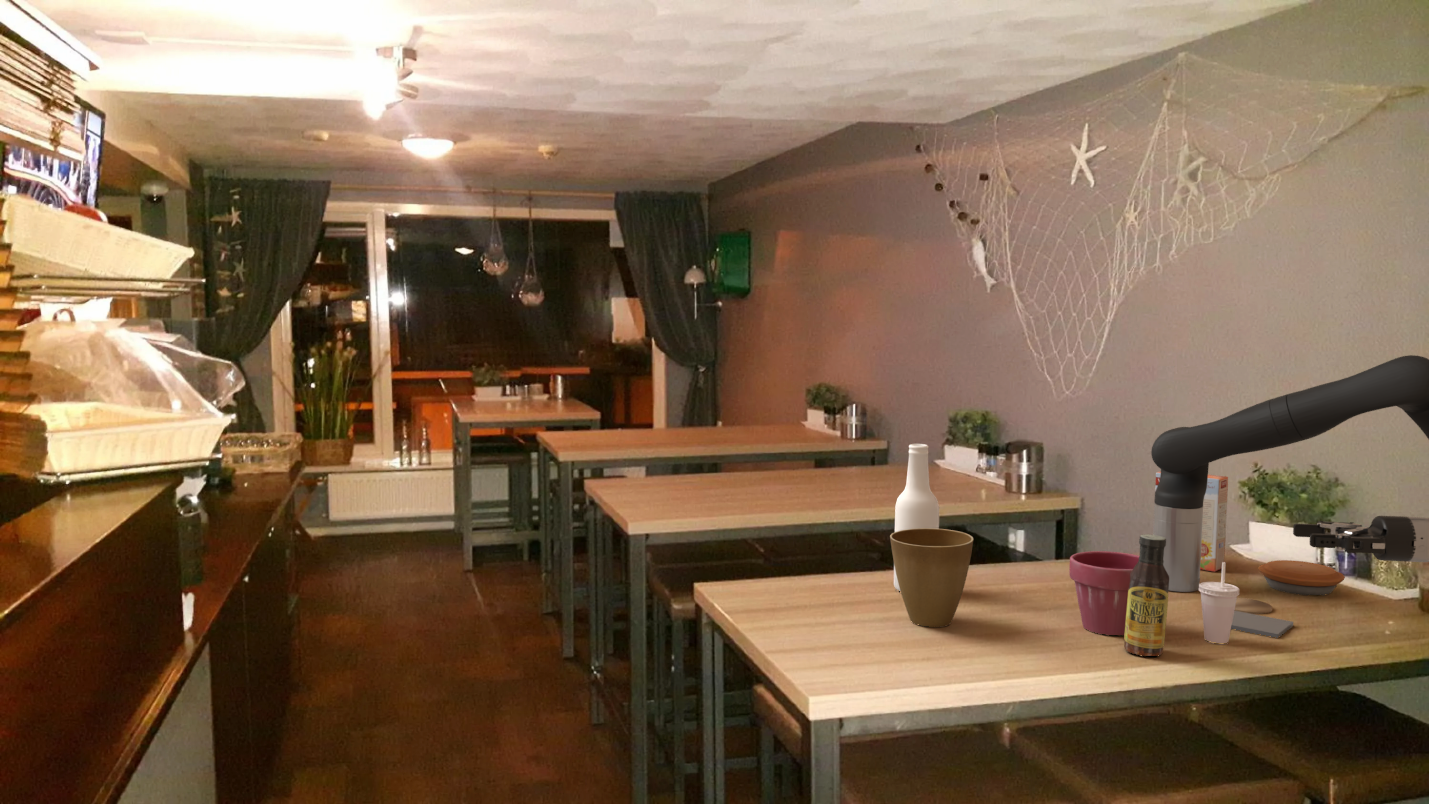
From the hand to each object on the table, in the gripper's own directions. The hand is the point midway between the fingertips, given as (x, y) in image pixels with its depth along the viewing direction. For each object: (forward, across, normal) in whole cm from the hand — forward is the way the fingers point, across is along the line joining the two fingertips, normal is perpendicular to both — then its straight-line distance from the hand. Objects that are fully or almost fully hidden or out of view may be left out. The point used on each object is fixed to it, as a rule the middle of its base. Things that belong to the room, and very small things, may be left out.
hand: (1301, 535), depth 176 cm
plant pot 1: (+62, +2, +18) cm, 65 cm away
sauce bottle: (+27, +12, +19) cm, 35 cm away
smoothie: (+13, +2, +19) cm, 23 cm away
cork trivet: (+3, -22, +19) cm, 29 cm away
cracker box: (+6, -55, +19) cm, 58 cm away
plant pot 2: (+31, -1, +19) cm, 36 cm away
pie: (-12, -39, +19) cm, 45 cm away
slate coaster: (+4, -9, +19) cm, 21 cm away
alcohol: (+66, -19, +18) cm, 71 cm away
